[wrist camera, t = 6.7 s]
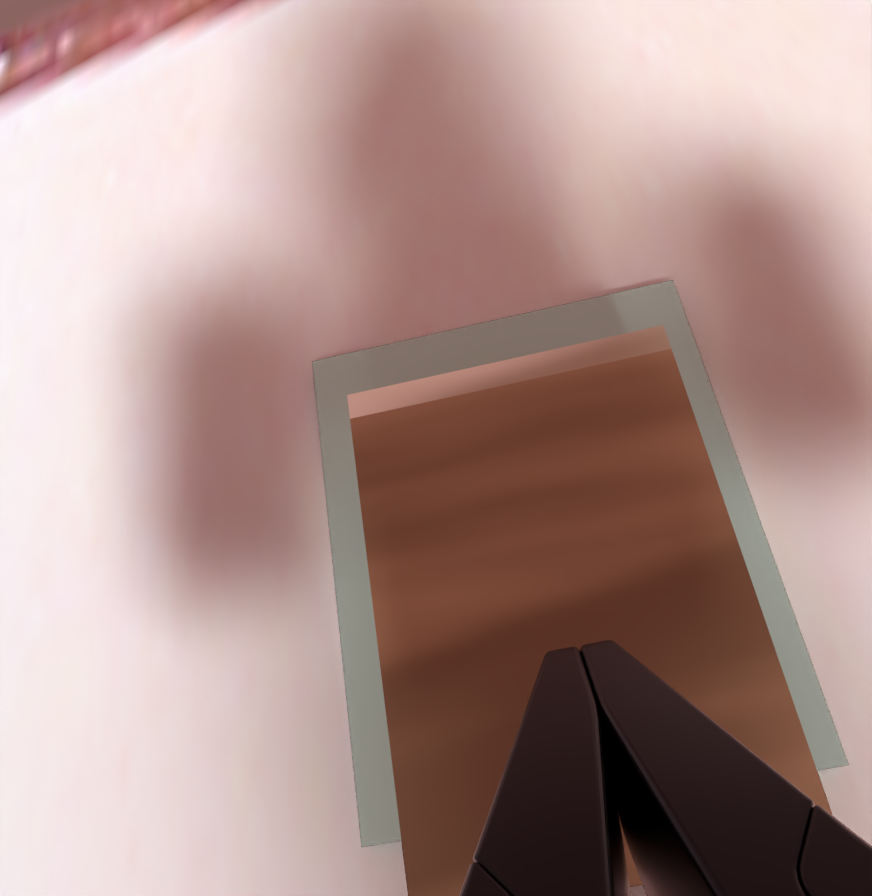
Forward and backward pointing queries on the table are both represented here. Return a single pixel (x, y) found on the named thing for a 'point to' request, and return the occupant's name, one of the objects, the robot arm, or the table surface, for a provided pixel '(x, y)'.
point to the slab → (548, 570)
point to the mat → (484, 348)
